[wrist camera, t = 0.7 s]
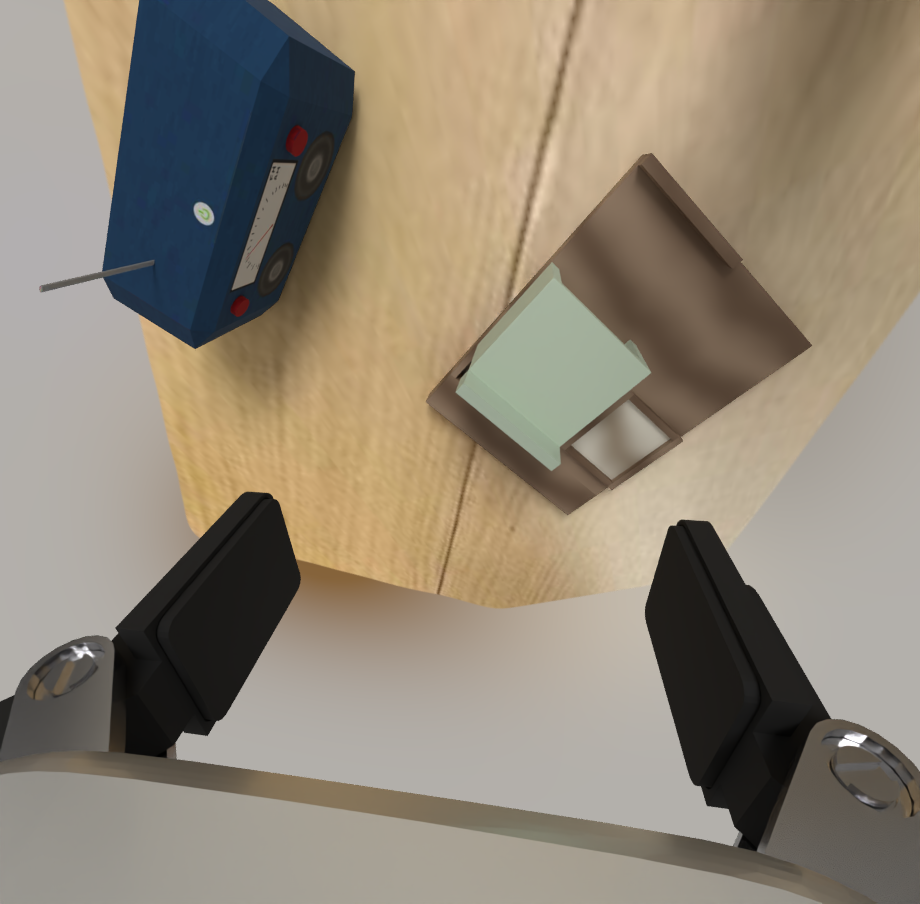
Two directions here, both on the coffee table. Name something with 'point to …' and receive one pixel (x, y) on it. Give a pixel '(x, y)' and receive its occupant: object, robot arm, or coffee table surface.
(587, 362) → the cover
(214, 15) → the radio
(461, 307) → the coffee table surface
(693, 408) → the puzzle board
